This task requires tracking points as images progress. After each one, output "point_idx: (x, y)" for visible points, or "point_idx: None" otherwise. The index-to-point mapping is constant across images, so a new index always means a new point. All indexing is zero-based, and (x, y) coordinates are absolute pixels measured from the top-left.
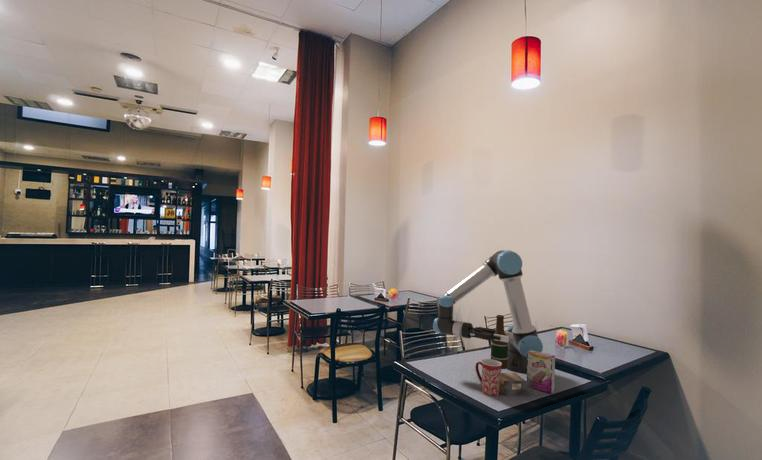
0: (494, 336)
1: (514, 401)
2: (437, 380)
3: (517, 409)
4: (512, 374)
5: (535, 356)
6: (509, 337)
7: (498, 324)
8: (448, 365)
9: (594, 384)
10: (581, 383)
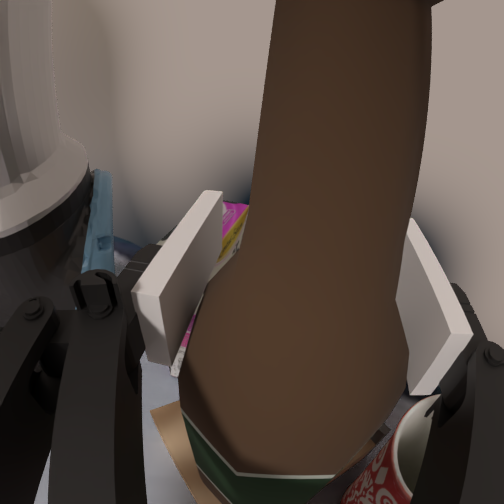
0: (482, 337)
1: (393, 414)
2: None
3: (440, 393)
4: (183, 424)
5: (225, 251)
6: (214, 255)
7: (421, 126)
8: None
9: (117, 238)
10: (115, 255)
